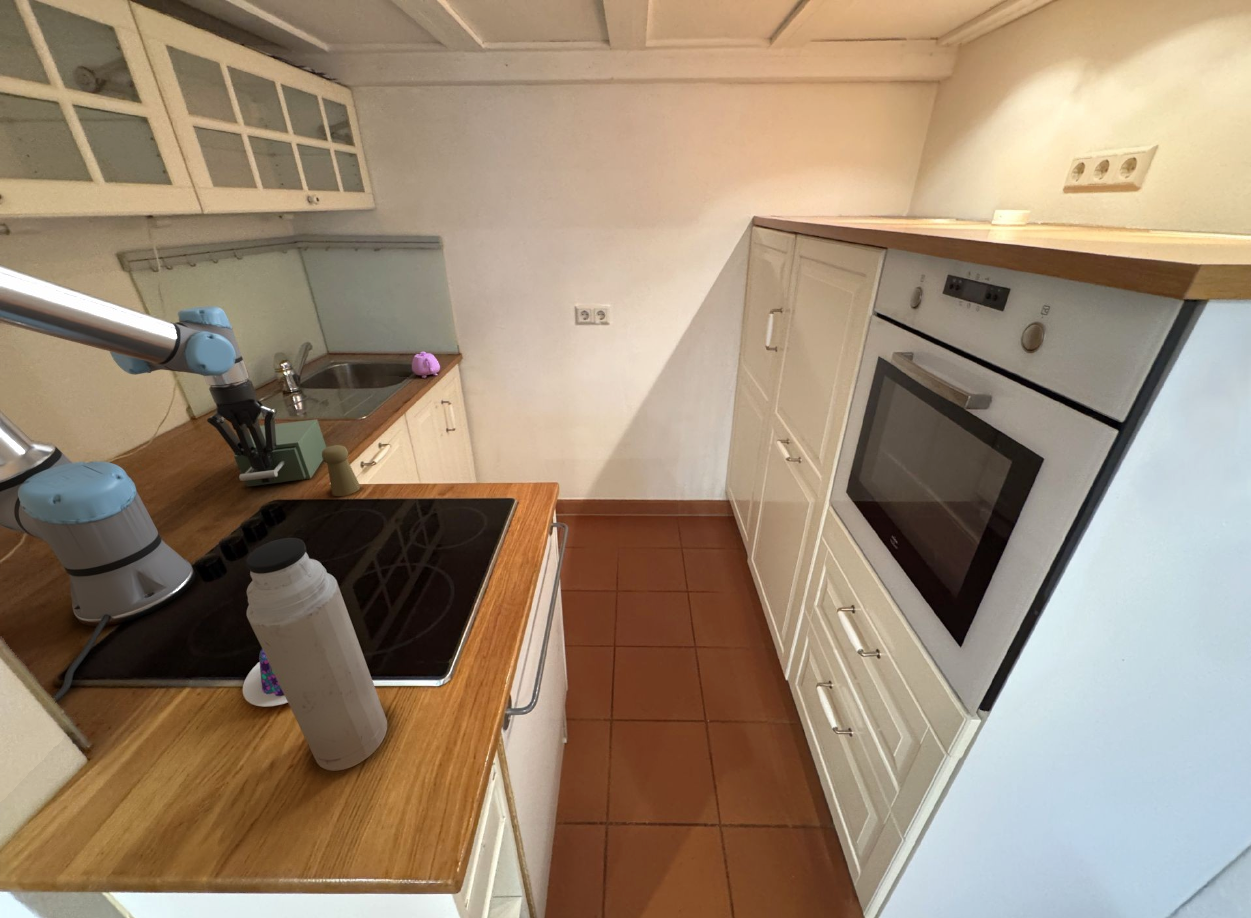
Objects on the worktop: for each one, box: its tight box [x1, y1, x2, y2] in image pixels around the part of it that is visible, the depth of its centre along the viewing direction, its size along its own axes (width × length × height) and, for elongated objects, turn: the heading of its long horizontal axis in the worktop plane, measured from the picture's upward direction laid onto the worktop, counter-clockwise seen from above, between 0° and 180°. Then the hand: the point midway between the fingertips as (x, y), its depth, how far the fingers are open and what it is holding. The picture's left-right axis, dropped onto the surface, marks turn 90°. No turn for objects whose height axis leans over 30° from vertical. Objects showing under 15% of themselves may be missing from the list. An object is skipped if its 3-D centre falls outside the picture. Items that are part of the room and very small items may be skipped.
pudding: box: [242, 648, 288, 707], centre depth 69 cm, size 12×12×5 cm
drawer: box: [234, 446, 306, 487], centre depth 122 cm, size 21×13×8 cm, turn 14°
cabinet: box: [232, 419, 327, 487], centre depth 127 cm, size 16×14×10 cm
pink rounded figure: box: [411, 351, 441, 379], centre depth 202 cm, size 10×15×9 cm
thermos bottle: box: [245, 537, 388, 772], centre depth 54 cm, size 8×8×28 cm
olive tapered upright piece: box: [322, 444, 361, 497], centre depth 115 cm, size 6×6×11 cm
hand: (268, 479), depth 117 cm, fingers closed
